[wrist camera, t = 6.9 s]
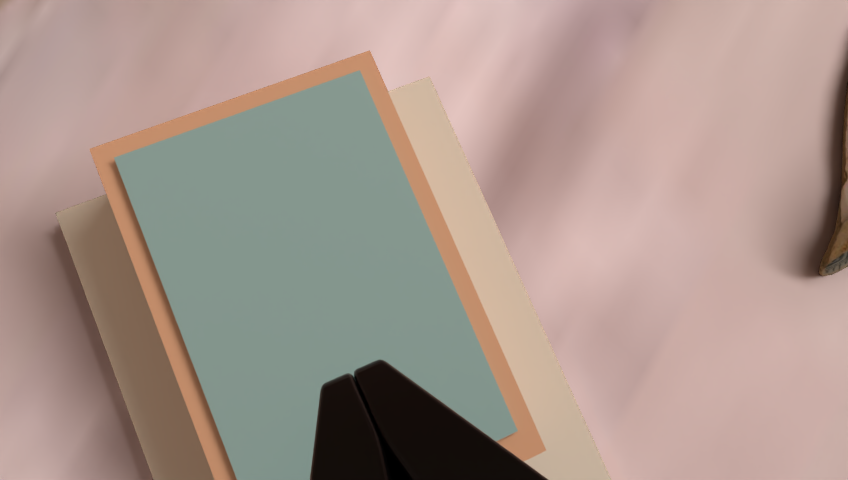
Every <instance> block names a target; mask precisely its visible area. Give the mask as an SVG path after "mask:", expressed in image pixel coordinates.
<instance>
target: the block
mask: <svg viewBox="0 0 848 480" xmlns="http://www.w3.org/2000/svg"><path fill="white" fill-rule="evenodd" d="M90 152H91V154H92V157H93V160H94V162H95V165H96V168H97V170H98V173H99V176H100V178H101V181H102V184H103V186H104V189H105V191H106V194H107V197H108V199H109V202H110V205H111V207H112V210H113V213H114V215H115V218H116V221H117V223H118V226H119V228H120V231H121V234H122V236H123V239H124V242H125V244H126V247H127V250H128V252H129V255H130V258H131V260H132V263H133V265H134V268H135V271H136V273H137V276H138V279H139V281H140V284H141V287H142V289H143V292H144V295H145V297H146V300H147V302H148V305H149V308H150V310H151V313H152V316H153V318H154V321H155V324H156V326H157V329H158V332H159V334H160V337H161V339H162V342H163V345H164V347H165V350H166V353H167V355H168V358H169V361H170V363H171V366H172V369H173V371H174V374H175V376H176V379H177V382H178V384H179V387H180V390H181V392H182V395H183V398H184V400H185V403H186V406H187V408H188V411H189V413H190V416H191V419H192V421H193V424H194V427H195V429H196V432H197V435H198V437H199V440H200V443H201V445H202V448H203V450H204V453H205V456H206V458H207V461H208V464H209V466H210V469H211V472H212V474H213V477H214V480H310V473H311V465H312V457H313V448H314V440H315V431H316V423H317V414H318V406H319V398H320V390H321V387H322V385H323V384H324V383H326V382H328V381H330V380H332V379H335V378H337V377H339V376H342V375H344V374H346V373H350V374H352V375H353V377H354V371H355V370H356V369H358V368H360V367H362V366H364V365H367V364H369V363H371V362H374V361H376V360H379V359H380V360H384V361H386V362H388V363H389V364H390V365H392V366H393V367H394V368H396V369H397V370H399V371H400V372H401V373H403V374H404V375H405V376H407V377H408V378H410V379H411V380H412V381H414V382H415V383H416V384H418V385H419V386H421V387H422V388H423V389H425V390H426V391H427V392H429V393H430V394H432V395H433V396H434V397H436V398H437V399H438V400H440V401H441V402H443V403H444V404H445V405H447V406H448V407H449V408H451V409H452V410H454V411H455V412H456V413H458V414H459V415H460V416H462V417H463V418H465V419H466V420H467V421H469V422H470V423H471V424H473V425H474V426H476V427H477V428H478V429H480V430H481V431H482V432H484V433H485V434H487V435H488V436H489V437H491V438H492V439H493V440H495V441H496V442H498V443H499V444H500V445H502V446H503V447H504V448H506V449H507V450H508V451H510V452H511V453H513V454H514V455H515V456H517V457H518V458H519V459H521V460H522V461H526V460H528V459H530V458H532V457H534V456H536V455H538V454H540V453H542V452H544V451H546V448H545V446H544V444H543V442H542V439H541V437H540V435H539V432H538V430H537V428H536V426H535V423H534V421H533V419H532V417H531V414H530V412H529V410H528V408H527V405H526V403H525V401H524V399H523V396H522V394H521V392H520V389H519V387H518V385H517V383H516V380H515V378H514V376H513V374H512V371H511V369H510V367H509V365H508V362H507V360H506V358H505V356H504V353H503V351H502V349H501V346H500V344H499V342H498V340H497V337H496V335H495V333H494V331H493V328H492V326H491V324H490V322H489V319H488V317H487V315H486V312H485V310H484V308H483V306H482V303H481V301H480V299H479V297H478V294H477V292H476V290H475V288H474V285H473V283H472V281H471V279H470V276H469V274H468V272H467V269H466V267H465V265H464V263H463V260H462V258H461V256H460V254H459V251H458V249H457V247H456V245H455V242H454V240H453V238H452V235H451V233H450V231H449V229H448V226H447V224H446V222H445V220H444V217H443V215H442V213H441V211H440V208H439V206H438V204H437V202H436V199H435V197H434V195H433V192H432V190H431V188H430V186H429V183H428V181H427V179H426V177H425V174H424V172H423V170H422V168H421V165H420V163H419V161H418V159H417V156H416V154H415V152H414V149H413V147H412V145H411V143H410V140H409V138H408V136H407V134H406V131H405V129H404V127H403V125H402V122H401V120H400V118H399V115H398V113H397V111H396V109H395V106H394V104H393V102H392V100H391V97H390V95H389V93H388V91H387V88H386V86H385V84H384V82H383V79H382V77H381V75H380V72H379V70H378V68H377V66H376V63H375V61H374V59H373V57H372V54H371V52H370V51H367V52H364V53H361V54H358V55H356V56H353V57H350V58H347V59H344V60H341V61H338V62H336V63H333V64H330V65H327V66H324V67H321V68H319V69H316V70H313V71H310V72H307V73H304V74H302V75H299V76H296V77H293V78H290V79H287V80H284V81H282V82H279V83H276V84H273V85H270V86H267V87H265V88H262V89H259V90H256V91H253V92H250V93H247V94H245V95H242V96H239V97H236V98H233V99H230V100H228V101H225V102H222V103H219V104H216V105H213V106H210V107H208V108H205V109H202V110H199V111H196V112H193V113H191V114H188V115H185V116H182V117H179V118H176V119H174V120H171V121H168V122H165V123H162V124H159V125H156V126H154V127H151V128H148V129H145V130H142V131H139V132H137V133H134V134H131V135H128V136H125V137H122V138H119V139H117V140H114V141H111V142H108V143H105V144H102V145H100V146H97V147H94V148H91V149H90ZM354 379H355V378H354Z"/></svg>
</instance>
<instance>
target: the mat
mask: <svg viewBox="0 0 848 480" xmlns="http://www.w3.org/2000/svg"><path fill="white" fill-rule="evenodd" d="M388 93H389V95H390V97H391V100H392V102H393V104H394V106H395V109H396V111H397V113H398V115H399V118H400V120H401V122H402V125H403V127H404V129H405V131H406V134H407V136H408V138H409V140H410V143H411V145H412V147H413V149H414V152H415V154H416V156H417V159H418V161H419V163H420V165H421V168H422V170H423V172H424V174H425V177H426V179H427V181H428V183H429V186H430V188H431V190H432V192H433V195H434V197H435V199H436V202H437V204H438V206H439V208H440V211H441V213H442V215H443V217H444V220H445V222H446V224H447V226H448V229H449V231H450V233H451V235H452V238H453V240H454V242H455V245H456V247H457V249H458V251H459V254H460V256H461V258H462V260H463V263H464V265H465V267H466V269H467V272H468V274H469V276H470V279H471V281H472V283H473V285H474V288H475V290H476V292H477V294H478V297H479V299H480V301H481V303H482V306H483V308H484V310H485V312H486V315H487V317H488V319H489V322H490V324H491V326H492V328H493V331H494V333H495V335H496V337H497V340H498V342H499V344H500V346H501V349H502V351H503V353H504V356H505V358H506V360H507V362H508V365H509V367H510V369H511V371H512V374H513V376H514V378H515V380H516V383H517V385H518V387H519V389H520V392H521V394H522V396H523V399H524V401H525V403H526V405H527V408H528V410H529V412H530V414H531V417H532V419H533V421H534V423H535V426H536V428H537V430H538V432H539V435H540V437H541V439H542V442H543V444H544V446H545V448H546V451H544V452H542V453H540V454H538V455H536V456H534V457H532V458H530V459H528V460H526V461H524V462H525V463H526V464H528V465H529V466H530V467H532V468H533V469H535V470H536V471H537V472H539V473H540V474H541V475H543V476H544V477H546V478H547V479H548V480H611V478H610V476H609V473H608V471H607V469H606V467H605V464H604V462H603V460H602V458H601V456H600V453H599V451H598V449H597V447H596V445H595V442H594V440H593V438H592V436H591V433H590V431H589V429H588V427H587V425H586V422H585V420H584V418H583V416H582V414H581V411H580V409H579V407H578V405H577V402H576V400H575V398H574V396H573V394H572V391H571V389H570V387H569V385H568V382H567V380H566V378H565V376H564V374H563V371H562V369H561V367H560V365H559V363H558V360H557V358H556V356H555V354H554V351H553V349H552V347H551V345H550V343H549V340H548V338H547V336H546V334H545V332H544V329H543V327H542V325H541V323H540V320H539V318H538V316H537V314H536V312H535V309H534V307H533V305H532V303H531V300H530V298H529V296H528V294H527V292H526V289H525V287H524V285H523V283H522V281H521V278H520V276H519V274H518V272H517V269H516V267H515V265H514V263H513V261H512V258H511V256H510V254H509V252H508V249H507V247H506V245H505V243H504V241H503V238H502V236H501V234H500V232H499V230H498V227H497V225H496V223H495V221H494V218H493V216H492V214H491V212H490V210H489V207H488V205H487V203H486V201H485V199H484V196H483V194H482V192H481V190H480V187H479V185H478V183H477V181H476V179H475V176H474V174H473V172H472V170H471V167H470V165H469V163H468V161H467V159H466V156H465V154H464V152H463V150H462V148H461V145H460V143H459V141H458V139H457V136H456V134H455V132H454V130H453V128H452V125H451V123H450V121H449V119H448V117H447V114H446V112H445V110H444V108H443V105H442V103H441V101H440V99H439V97H438V94H437V92H436V90H435V88H434V85H433V83H432V81H431V79H430V77H427V78H424V79H421V80H418V81H416V82H413V83H410V84H407V85H405V86H402V87H399V88H396V89H394V90H391V91H388ZM56 216H57V218H58V221H59V224H60V227H61V229H62V232H63V235H64V238H65V240H66V243H67V246H68V248H69V251H70V254H71V257H72V259H73V262H74V265H75V268H76V270H77V273H78V276H79V278H80V281H81V284H82V287H83V289H84V292H85V295H86V297H87V300H88V303H89V306H90V308H91V311H92V314H93V317H94V319H95V322H96V325H97V327H98V330H99V333H100V336H101V338H102V341H103V344H104V347H105V349H106V352H107V355H108V357H109V360H110V363H111V366H112V368H113V371H114V374H115V376H116V379H117V382H118V385H119V387H120V390H121V393H122V396H123V398H124V401H125V404H126V406H127V409H128V412H129V415H130V417H131V420H132V423H133V425H134V428H135V431H136V434H137V436H138V439H139V442H140V445H141V447H142V450H143V453H144V455H145V458H146V461H147V464H148V466H149V469H150V472H151V475H152V477H153V480H214V477H213V474H212V472H211V469H210V466H209V464H208V461H207V458H206V456H205V453H204V450H203V448H202V445H201V443H200V440H199V437H198V435H197V432H196V429H195V427H194V424H193V421H192V419H191V416H190V413H189V411H188V408H187V406H186V403H185V400H184V398H183V395H182V392H181V390H180V387H179V384H178V382H177V379H176V376H175V374H174V371H173V369H172V366H171V363H170V361H169V358H168V355H167V353H166V350H165V347H164V345H163V342H162V339H161V337H160V334H159V332H158V329H157V326H156V324H155V321H154V318H153V316H152V313H151V310H150V308H149V305H148V302H147V300H146V297H145V295H144V292H143V289H142V287H141V284H140V281H139V279H138V276H137V273H136V271H135V268H134V265H133V263H132V260H131V258H130V255H129V252H128V250H127V247H126V244H125V242H124V239H123V236H122V234H121V231H120V228H119V226H118V223H117V221H116V218H115V215H114V213H113V210H112V207H111V205H110V202H109V199H108V197H107V194H106V195H103V196H100V197H97V198H95V199H92V200H89V201H86V202H84V203H81V204H78V205H75V206H73V207H70V208H67V209H65V210H62V211H59V212H56Z"/></svg>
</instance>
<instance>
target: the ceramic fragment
mask: <svg viewBox="0 0 848 480" xmlns="http://www.w3.org/2000/svg"><path fill="white" fill-rule="evenodd" d="M842 142H843V149H842V152H843V153H842V174H841V179H842V184H841V194H840V202H839V209H838V216H837V221H836V226H835V231H834V234H833V236H832V238H831V240H830V243H829V245H828V248H827V251H826V253H825V254H824V256H823V258H822V261H821V264H820V268H819V274H821V275H822V276H827V275H832V274H834V273H836V272H838V271H840V270H842V269H844V268H846V267H847V266H848V83H847V92H846V100H845V107H844V120H843V141H842Z"/></svg>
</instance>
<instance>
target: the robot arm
mask: <svg viewBox="0 0 848 480" xmlns="http://www.w3.org/2000/svg"><path fill="white" fill-rule="evenodd" d="M354 378H355V379H354ZM310 480H548V479H547V478H546V477H544V476H543V475H541V474H540V473H539V472H537V471H536V470H535V469H533V468H532V467H530V466H529V465H528V464H526V463H525V462H524V461H522V460H521V459H519V458H518V457H517V456H515V455H514V454H513V453H511V452H510V451H508V450H507V449H506V448H504V447H503V446H502V445H500V444H499V443H498V442H496V441H495V440H493V439H492V438H491V437H489V436H488V435H487V434H485V433H484V432H482V431H481V430H480V429H478V428H477V427H476V426H474V425H473V424H471V423H470V422H469V421H467V420H466V419H465V418H463V417H462V416H460V415H459V414H458V413H456V412H455V411H454V410H452V409H451V408H449V407H448V406H447V405H445V404H444V403H443V402H441V401H440V400H438V399H437V398H436V397H434V396H433V395H432V394H430V393H429V392H427V391H426V390H425V389H423V388H422V387H421V386H419V385H418V384H416V383H415V382H414V381H412V380H411V379H410V378H408V377H407V376H405V375H404V374H403V373H401V372H400V371H399V370H397V369H396V368H394V367H393V366H392V365H390V364H389V363H388V362H386V361H384V360H380V359H379V360H376V361H374V362H371V363H369V364H367V365H364V366H362V367H360V368H358V369H356V370H355V371H354V377H353V375H352V374H350V373H346V374H344V375H342V376H339V377H337V378H335V379H332V380H330V381H328V382H326V383H324V384H323V385H322V387H321V390H320V398H319V406H318V414H317V423H316V431H315V440H314V448H313V457H312V465H311V473H310Z"/></svg>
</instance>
